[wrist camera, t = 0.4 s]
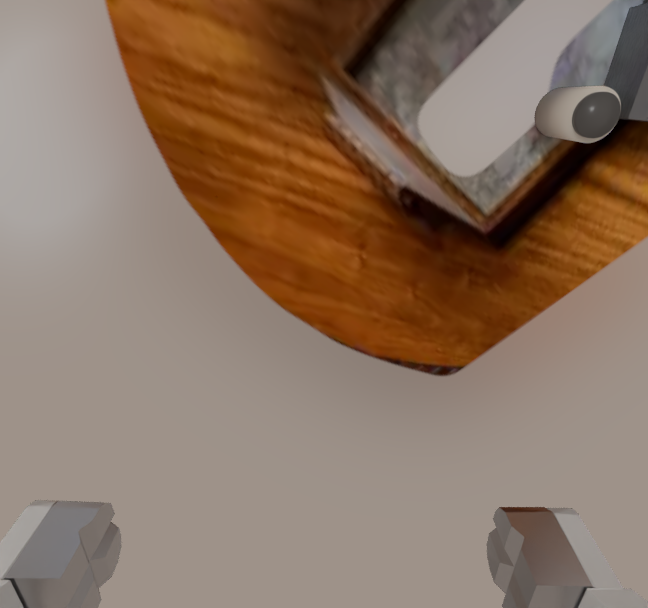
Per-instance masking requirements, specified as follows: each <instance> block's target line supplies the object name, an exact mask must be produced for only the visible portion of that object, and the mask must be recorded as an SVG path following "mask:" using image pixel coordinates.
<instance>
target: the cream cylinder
mask: <svg viewBox="0 0 648 608" xmlns="http://www.w3.org/2000/svg"><path fill="white" fill-rule="evenodd" d="M620 112H621V102H620V98H619V96H618V94H617V93H616V92H615V91H614V90H613V89H611V88H609V87H607V86H583V87H562V88H556V89H554V90H552V91H550V92H549V93H547V94H546V95H545V96H544V97H543V98H542V99H541V101H540V102H539V104H538V106H537V108H536V111H535V124H536V127H537V129H538V130H539V131H540V132H541V133H542V134H543V135H545V136H548V137H553V138H559V139H565V140H570V141H576V142H582V143H592V142H596V141H598V140H600V139H602V138H604V137H605V136H606V135H608V134H609V133H610V132H611V131H612V129H613V128H614V127H615V125H616V123H617V122H618V119H619V116H620Z"/></svg>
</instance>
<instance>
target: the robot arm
mask: <svg viewBox="0 0 648 608" xmlns="http://www.w3.org/2000/svg"><path fill="white" fill-rule="evenodd" d="M113 516H114V510H113V508H112V505H111V503H101V502H100V503H99V502H77V501H47V500H35V501H34V502H32V503H31V504H30V505H28V506H27V507H26V508H25V510H24V511H23V512H22V514H21V515H20V516H19V518H18V519H17V520H16V522H15V523H14V525H13V526H12V527H11V528H10V530H9V531H8V533H7V534H6V535H5V537H4V538H3V539H2V541H1V542H0V608H98V606H99V604H100V601H101V597H100V592H99V587H101V586H102V585H103V584H104V583H105V582H106V581H107V580H109V579H110V578H111V577H112V575H113V572H114V570H115V567H116V565H117V563H118V559H119V554H120V549H121V534H120V530H119V528H118V527H117V526H116V525H115V524H113V523H112V522H111V520H112V518H113ZM493 520H494V522H495V525H496V528H495V529H494V530H493V531H492V532H490V533H489V537H488V541H487V558H488V563H489V567H490V571H491V574H492V577H493V580H494V583H495V584H496V585H498V587H499V588H500V589H502V591H503V592H504V593H505V594H506V595H505V598H504V601H503V604H502V607H503V608H648V602H647V601H646V600H645V599H644V598H642V597H641V596H640V595H639V594H637V593H636V592H635V591H634V590H632V589H627V588H626V589H625V588H623V587H622V585H621V583H620V582H619V580H618V578H617V577H616V575H615V573H614V572H613V570H612V569H611V567H610V565H609V564H608V562H607V560H606V559H605V557H604V556H603V554H602V552H601V550H600V549H599V548H598V546H597V544H596V542H595V541H594V539H593V537H592V536H591V534H590V533H589V531H588V529H587V528H586V526H585V524H584V523H583V521H582V519H581V518H580V516H579V514H578V513H577V512H576V511H575V510H573V509H572V508H545V507H499V508H498V509H497V510H496V511H495V514H494V518H493Z"/></svg>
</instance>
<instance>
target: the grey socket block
mask: <svg viewBox="0 0 648 608" xmlns="http://www.w3.org/2000/svg"><path fill="white" fill-rule="evenodd" d="M604 86H607V87H609V88H611V89H613V90H614V91H615V92H616V93H617V94H618V96H619V98H620V102H621V112H620V116H619V119H623V120H633V121H643V122H648V3H645V4H642V5H638V6H635V7H632V8H630V9H629V12H628V15H627V18H626V21H625V24H624V27H623V30H622V33H621V36H620V39H619V42H618V45H617V48H616V51H615V54H614V57H613V60H612V63H611V66H610V69H609V72H608V75H607V78H606V81H605V84H604Z"/></svg>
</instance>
